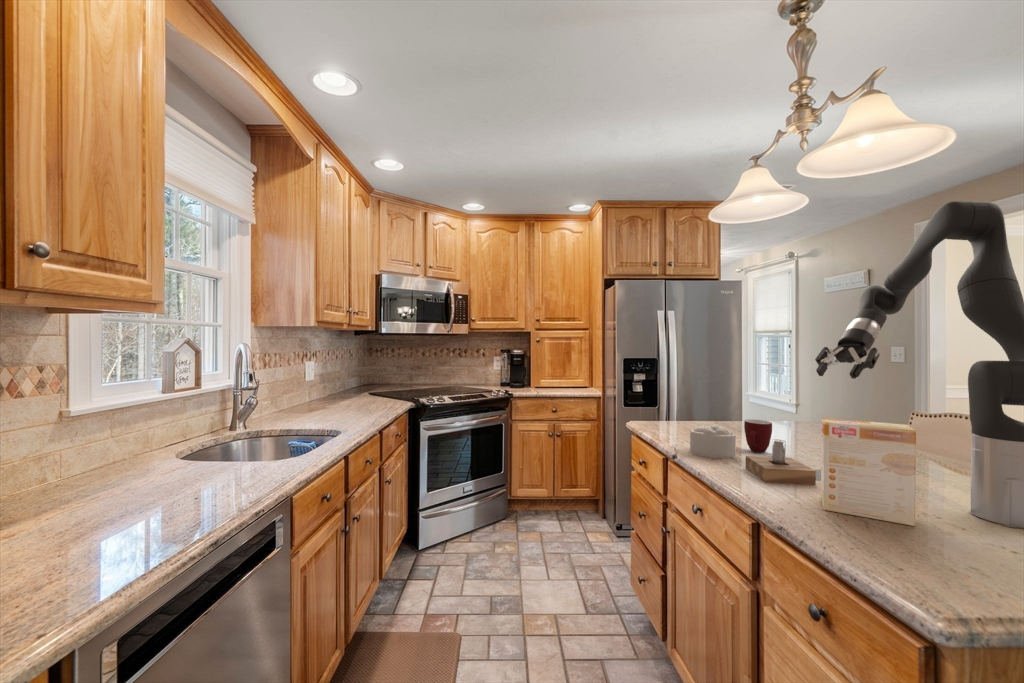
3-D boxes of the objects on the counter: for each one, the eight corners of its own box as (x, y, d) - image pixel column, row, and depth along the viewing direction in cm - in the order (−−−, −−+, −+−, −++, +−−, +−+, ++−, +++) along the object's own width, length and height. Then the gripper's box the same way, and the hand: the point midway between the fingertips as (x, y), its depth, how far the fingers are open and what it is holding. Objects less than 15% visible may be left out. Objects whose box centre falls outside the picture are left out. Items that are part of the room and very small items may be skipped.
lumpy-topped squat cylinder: (696, 447, 144) (696, 422, 144) (738, 454, 136) (738, 427, 136) (687, 453, 136) (687, 427, 136) (731, 461, 128) (731, 433, 128)
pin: (787, 479, 111) (787, 442, 111) (775, 479, 111) (775, 441, 111) (781, 476, 114) (782, 439, 114) (770, 475, 114) (770, 439, 114)
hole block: (815, 486, 106) (815, 470, 106) (765, 483, 107) (765, 468, 107) (790, 471, 117) (790, 457, 117) (745, 469, 119) (745, 455, 119)
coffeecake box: (906, 515, 89) (908, 424, 89) (916, 527, 83) (917, 429, 82) (819, 500, 97) (820, 416, 97) (822, 510, 91) (824, 421, 90)
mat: (844, 483, 108) (844, 481, 108) (810, 481, 109) (810, 479, 109) (820, 471, 118) (820, 469, 118) (790, 469, 119) (790, 468, 119)
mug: (768, 457, 132) (769, 426, 132) (740, 453, 137) (740, 423, 137) (773, 451, 140) (773, 421, 140) (746, 447, 145) (746, 418, 145)
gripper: (827, 327, 129) (803, 364, 125) (883, 326, 116) (858, 367, 112) (838, 345, 131) (814, 382, 127) (893, 345, 118) (869, 386, 114)
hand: (835, 375), depth 119 cm, fingers open, 8 cm apart
